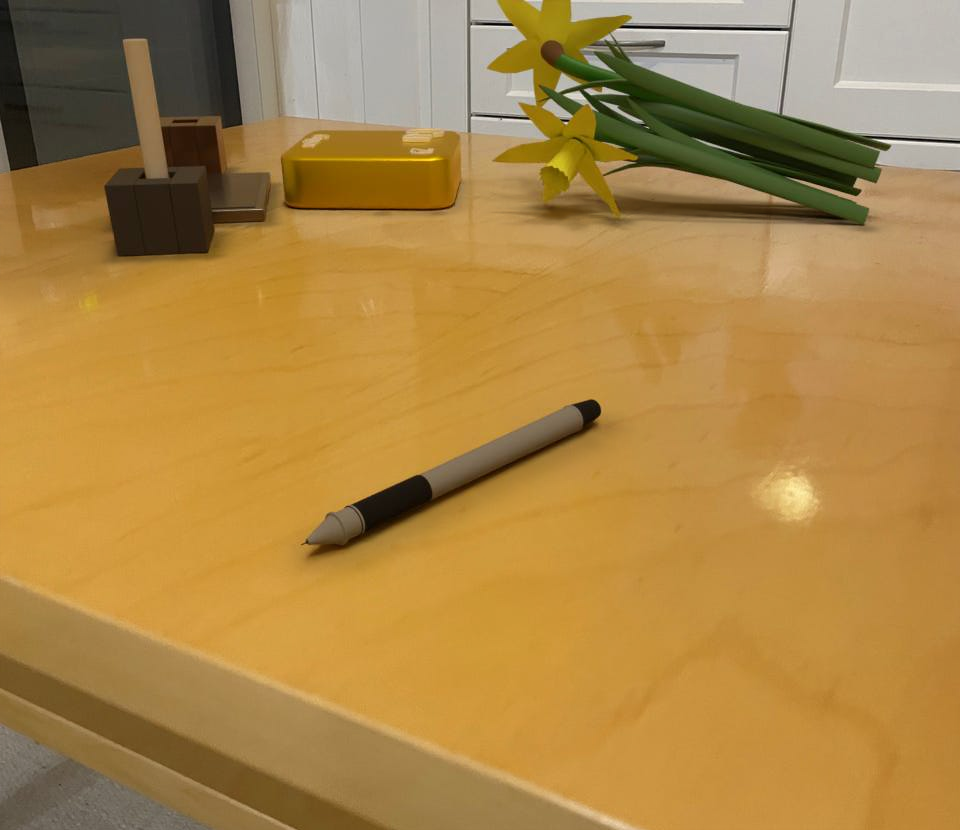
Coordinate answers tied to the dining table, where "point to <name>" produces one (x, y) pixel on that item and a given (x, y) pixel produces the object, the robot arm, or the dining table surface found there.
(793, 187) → the daffodil flowers
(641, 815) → the dining table surface
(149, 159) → the tan wooden bar
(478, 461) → the pen
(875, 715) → the dining table surface
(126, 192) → the holder
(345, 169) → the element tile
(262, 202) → the tablet
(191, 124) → the stand
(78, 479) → the dining table surface
